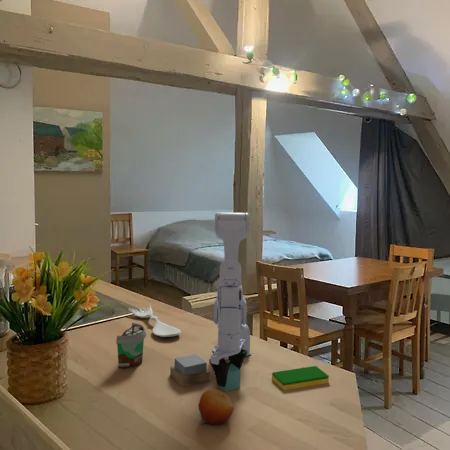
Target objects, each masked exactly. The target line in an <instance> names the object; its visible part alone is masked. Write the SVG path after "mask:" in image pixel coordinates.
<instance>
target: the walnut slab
mask: <svg viewBox="0 0 450 450" xmlns="http://www.w3.org/2000/svg"><path fill="white" fill-rule="evenodd" d="M169 368H170V371H169V372H170V373H169V374H170V376H171V377H172V378H173V379H174V381H176V383H178V385H180V386H181V387H182V388H185V387H189V386H193V385H197V384H202V383H203V384H204V383H207V382H210V380H211V379H210V374H211V373H210V372H211V371H209V370H208V369H207V371H206V372H202V373H197V374H192V375H188V376H184V375H183V374H182V373H181V372H180V371H178V370H177V369H176V368H175V365H170V367H169Z"/></svg>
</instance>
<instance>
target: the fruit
mask: <svg viewBox="0 0 450 450" xmlns="http://www.w3.org/2000/svg"><path fill="white" fill-rule="evenodd" d="M198 410H199V413H200V417H201V421H202V422H201V423H200V426H203V424H204V423H208V424H210V425H224V424H225V423H227V421H228V420H229V419H230V418H231V416H232V414H233V412H234V410H235V408H234V404H233V402H232V400H231V398H230V396H228V395H227V393H225V392H224V391H221V390H218V389H207V390H205V391H204V392H203V393H202V394H201V396H200V399H199V401H198Z"/></svg>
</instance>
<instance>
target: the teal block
mask: <svg viewBox="0 0 450 450" xmlns="http://www.w3.org/2000/svg"><path fill="white" fill-rule="evenodd" d="M218 387H219V388H220V389H221V390H222V391H223V392H227V391H232V390H233V391H234V390H237V389H240V387H241V370H240V369H239V368H237V367H236V366H235V365H233V364H232V363H231V365H230V367H229V370H228V374H227V382H226V386H225V387H221V386H218Z"/></svg>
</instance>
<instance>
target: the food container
mask: <svg viewBox="0 0 450 450" xmlns="http://www.w3.org/2000/svg"><path fill="white" fill-rule="evenodd" d="M146 337H147V333H146V329H145V327H144V325H142V324H140V323H135V322H132V323H131V326H130V327H129V328H128V329H126V330H124V332H123V333H122V334H121V335H116V340H115V341H116V342H115V343H116V345H117V362H118V369H119V370H124V369H133V368H137V367H138V366H140V365H142V364H143V355H144V344H145V343H144V342H145V338H146Z"/></svg>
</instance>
